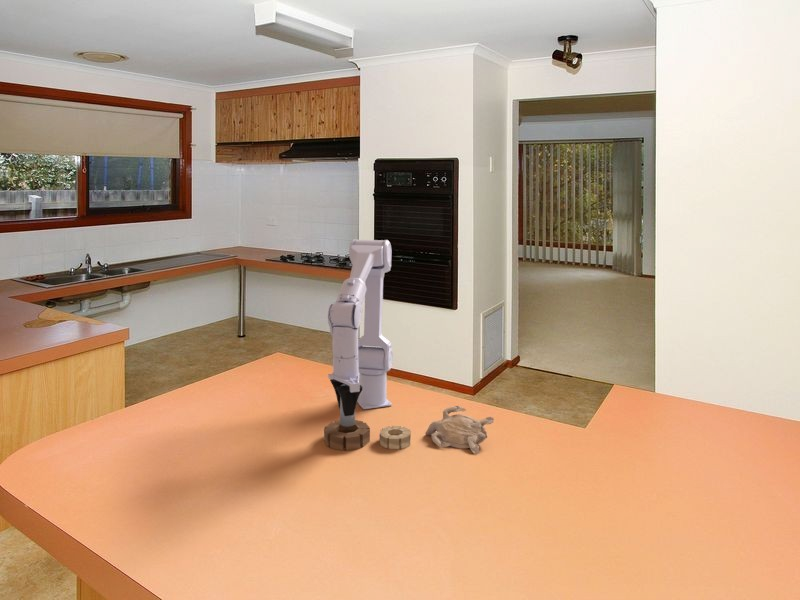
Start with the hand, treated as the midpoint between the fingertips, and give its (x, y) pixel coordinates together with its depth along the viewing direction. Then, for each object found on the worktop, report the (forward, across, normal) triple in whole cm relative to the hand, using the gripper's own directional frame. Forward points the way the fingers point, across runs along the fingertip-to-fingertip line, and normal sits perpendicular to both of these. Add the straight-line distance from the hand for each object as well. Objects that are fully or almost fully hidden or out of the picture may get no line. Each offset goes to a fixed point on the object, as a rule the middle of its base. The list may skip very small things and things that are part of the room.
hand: (346, 411), depth 137 cm
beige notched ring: (+7, +5, +10) cm, 13 cm away
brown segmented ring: (+7, 0, 0) cm, 7 cm away
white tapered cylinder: (+3, 0, 0) cm, 3 cm away
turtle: (+7, +10, +24) cm, 27 cm away
